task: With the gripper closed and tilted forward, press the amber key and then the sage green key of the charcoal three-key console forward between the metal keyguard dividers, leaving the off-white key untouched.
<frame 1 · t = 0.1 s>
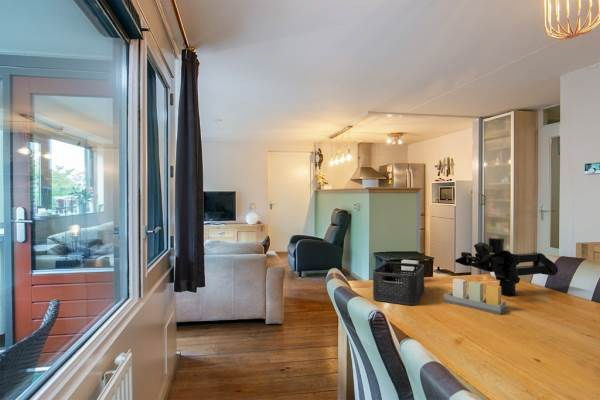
hand: (462, 262, 155), 17 cm above the table, tool horizontal, fingers open, 9 cm apart
key console: (474, 305, 146), on the table
sage key: (476, 292, 147), point 6 cm above the table, slide at 0.0 cm
off-white key: (459, 288, 152), point 6 cm above the table, slide at 0.0 cm
geometric ball: (497, 279, 192), on the table
amber key: (493, 295, 142), point 6 cm above the table, slide at 0.0 cm
storage bin: (399, 296, 162), on the table
ink box: (410, 282, 187), on the table
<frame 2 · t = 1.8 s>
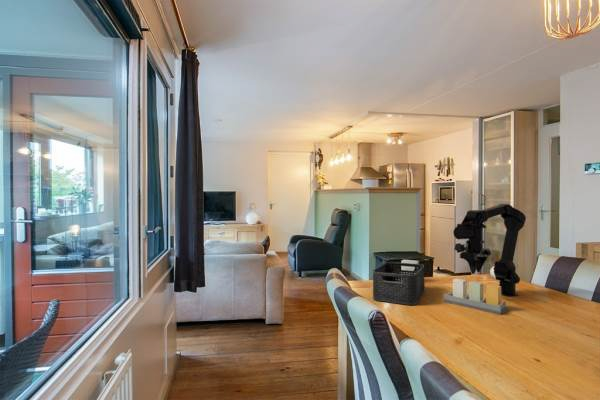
hand: (475, 272, 155), 12 cm above the table, tool pointing down, fingers open, 5 cm apart
nothing on the table moved.
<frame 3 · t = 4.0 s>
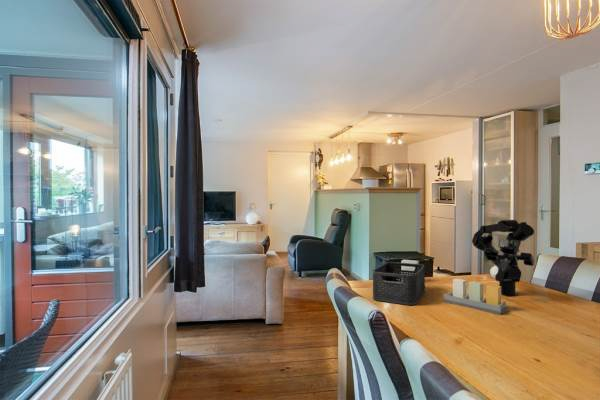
hand: (503, 272, 149), 14 cm above the table, tool tilted 45°, fingers closed
nothing on the table moved.
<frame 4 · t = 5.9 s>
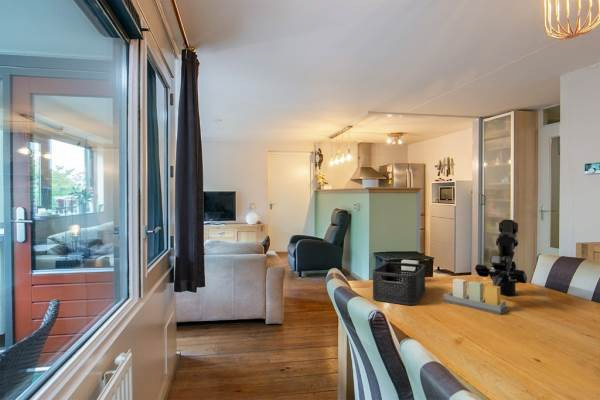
hand: (494, 289, 142), 8 cm above the table, tool tilted 45°, fingers closed, pressing on amber key
amber key: (492, 296, 141), point 6 cm above the table, slide at 1.0 cm, touching gripper
everything else where it was.
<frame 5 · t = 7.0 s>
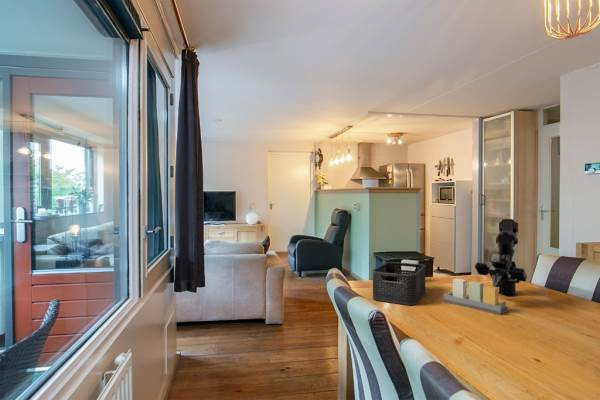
hand: (494, 288, 143), 8 cm above the table, tool tilted 45°, fingers closed
amber key: (490, 297, 140), point 5 cm above the table, slide at 3.0 cm
everything else where it was.
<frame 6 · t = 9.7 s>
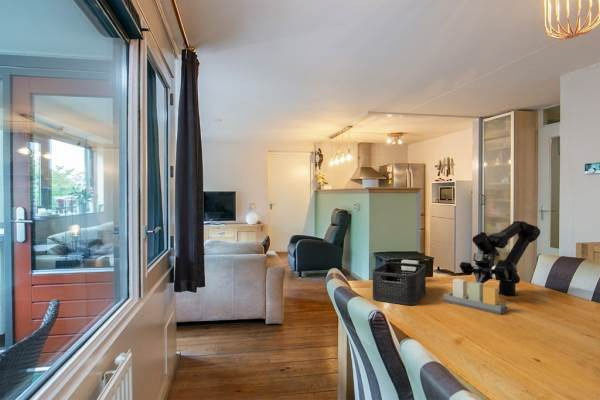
hand: (477, 286, 148), 8 cm above the table, tool tilted 45°, fingers closed, pressing on sage key
sage key: (475, 292, 147), point 6 cm above the table, slide at 0.4 cm, touching gripper
everything else where it was.
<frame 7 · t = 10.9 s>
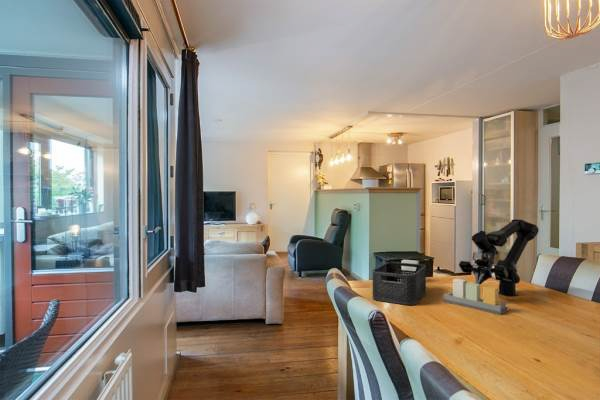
hand: (477, 285, 148), 8 cm above the table, tool tilted 45°, fingers closed
sage key: (473, 293, 145), point 6 cm above the table, slide at 3.0 cm
everything else where it was.
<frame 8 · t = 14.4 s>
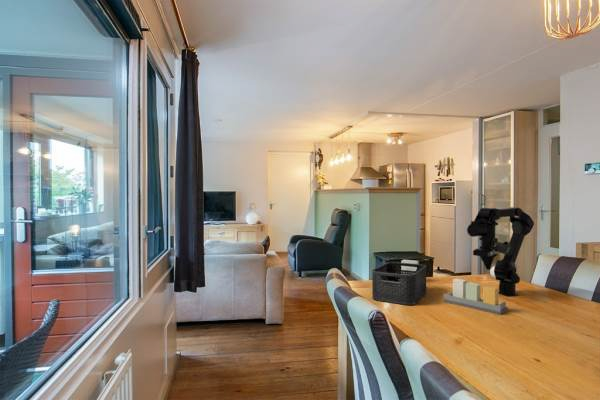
hand: (488, 269, 157), 13 cm above the table, tool pointing down, fingers closed
nothing on the table moved.
at the end: amber key slide at 3.0 cm; sage key slide at 3.0 cm; off-white key slide at 0.0 cm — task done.
